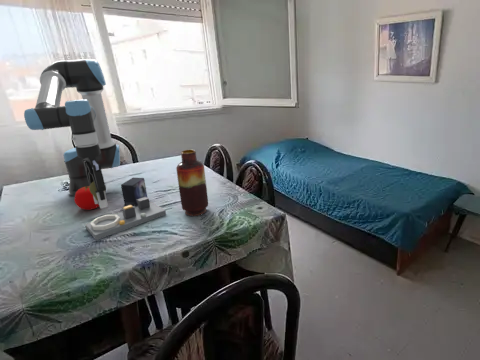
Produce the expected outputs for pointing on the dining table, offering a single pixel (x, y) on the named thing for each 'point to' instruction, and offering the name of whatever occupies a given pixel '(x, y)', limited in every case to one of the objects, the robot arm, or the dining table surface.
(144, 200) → the plain toggle
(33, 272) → the dining table surface
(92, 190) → the light bulb
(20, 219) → the dining table surface
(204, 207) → the vase
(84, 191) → the tomato
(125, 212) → the tagged toggle
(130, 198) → the small box
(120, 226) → the breaker panel
